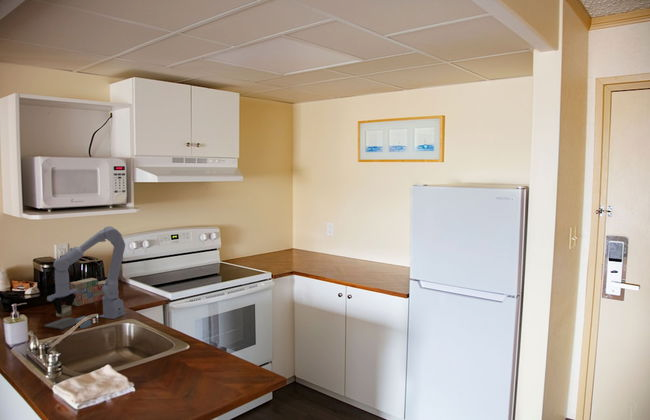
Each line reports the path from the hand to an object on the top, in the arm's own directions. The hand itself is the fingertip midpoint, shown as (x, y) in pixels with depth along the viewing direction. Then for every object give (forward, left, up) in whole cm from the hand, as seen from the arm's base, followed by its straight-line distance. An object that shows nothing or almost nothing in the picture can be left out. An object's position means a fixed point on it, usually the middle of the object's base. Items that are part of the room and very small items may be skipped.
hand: (64, 311), depth 218 cm
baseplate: (0, 0, -6) cm, 6 cm away
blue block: (-11, -1, -6) cm, 13 cm away
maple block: (0, 0, -2) cm, 2 cm away
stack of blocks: (+19, -33, -6) cm, 39 cm away
